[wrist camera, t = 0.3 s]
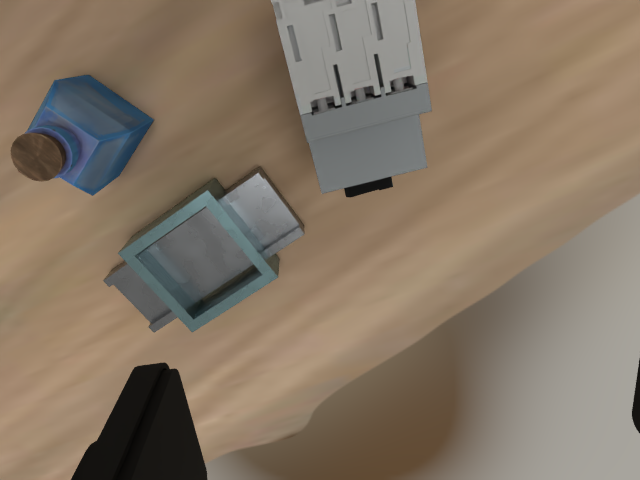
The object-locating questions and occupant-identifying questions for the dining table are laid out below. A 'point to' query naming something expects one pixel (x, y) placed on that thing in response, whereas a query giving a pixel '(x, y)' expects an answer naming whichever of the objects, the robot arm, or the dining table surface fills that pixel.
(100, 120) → the perfume bottle
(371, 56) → the circuit breaker
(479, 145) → the dining table surface
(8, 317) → the dining table surface
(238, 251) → the pale teal rectangular frame
